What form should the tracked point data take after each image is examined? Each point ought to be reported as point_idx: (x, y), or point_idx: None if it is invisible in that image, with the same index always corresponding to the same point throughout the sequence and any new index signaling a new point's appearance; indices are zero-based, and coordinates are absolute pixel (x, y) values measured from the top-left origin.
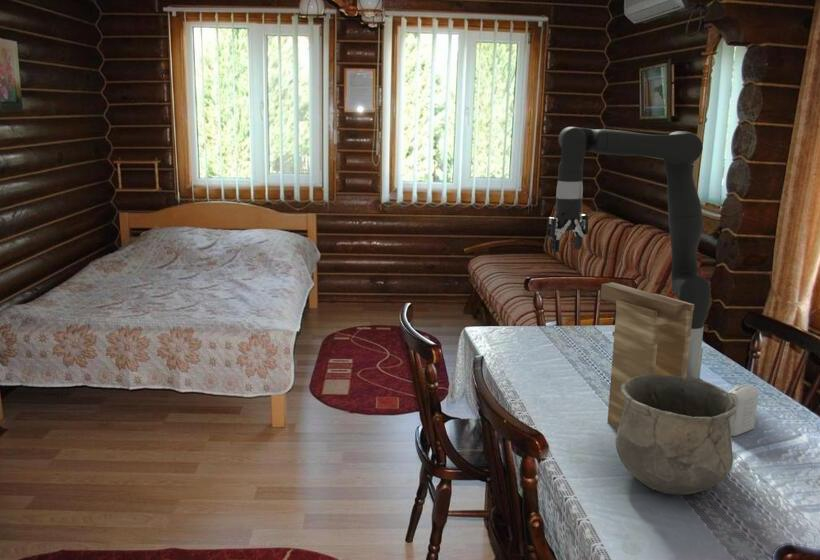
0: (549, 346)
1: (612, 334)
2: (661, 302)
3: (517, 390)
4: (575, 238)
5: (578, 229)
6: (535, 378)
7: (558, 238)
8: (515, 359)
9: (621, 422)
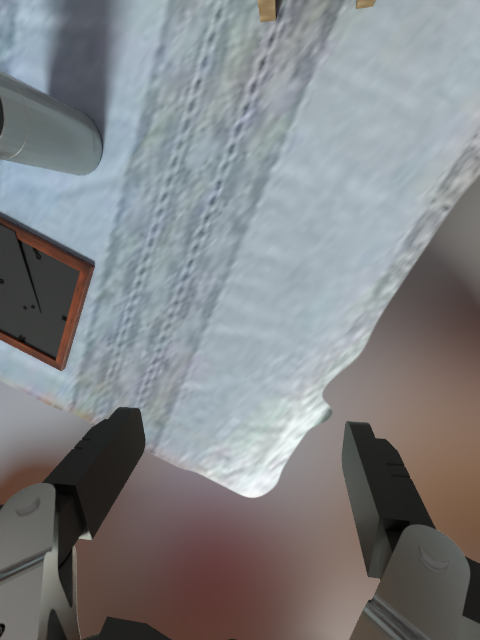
0: (195, 379)
1: (64, 368)
2: None
3: (398, 244)
4: (100, 512)
5: (29, 601)
6: (324, 275)
7: (427, 540)
8: (290, 362)
9: None
